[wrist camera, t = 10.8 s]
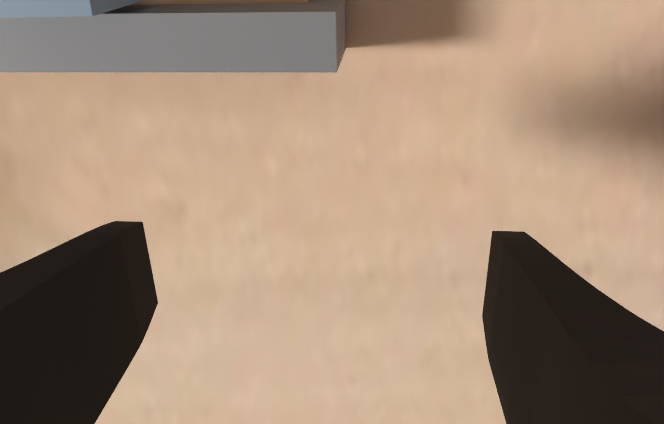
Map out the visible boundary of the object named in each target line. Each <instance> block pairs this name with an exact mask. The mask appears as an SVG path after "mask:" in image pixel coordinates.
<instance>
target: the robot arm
mask: <svg viewBox="0 0 664 424" xmlns="http://www.w3.org/2000/svg"><path fill="white" fill-rule="evenodd" d="M157 304H158V301H157V296H156V290H155V285H154V280H153V274H152V269H151V264H150V259H149V253H148V248H147V243H146V238H145V232H144V227H143V222H124V221H114V222H111V223H108V224H105V225H103V226H100V227H98V228H95V229H93V230H91V231H88V232H86V233H84V234H82V235H80V236H78V237H76V238H74V239H71V240H69V241H67V242H65V243H63V244H61V245H59V246H57V247H55V248H53V249H51V250H49V251H47V252H45V253H42V254H40V255H38V256H36V257H34V258H32V259H30V260H28V261H26V262H23V263H21V264H19V265H17V266H15V267H12V268H10V269H8V270H6V271H3V272H1V273H0V424H95V422H96V420H97V419H98V417H99V415H100V414H101V412H102V410H103V408H104V407H105V405H106V403H107V402H108V400H109V398H110V397H111V395H112V393H113V392H114V390H115V388H116V387H117V385H118V383H119V381H120V380H121V378H122V376H123V375H124V373H125V371H126V370H127V368H128V366H129V364H130V363H131V361H132V359H133V357H134V356H135V354H136V352H137V350H138V349H139V347H140V345H141V343H142V341H143V339H144V337H145V334H146V332H147V329H148V327H149V325H150V322H151V319H152V317H153V314H154V311H155V309H156V306H157ZM482 316H483V324H484V332H485V339H486V346H487V353H488V359H489V363H490V366H491V370H492V374H493V377H494V381H495V384H496V388H497V392H498V395H499V399H500V402H501V406H502V409H503V413H504V416H505V420H506V423H507V424H664V331H662V330H660V329H658V328H657V327H655V326H653V325H651V324H650V323H648V322H646V321H644V320H643V319H641V318H640V317H638V316H636V315H635V314H633V313H632V312H630V311H628V310H627V309H625V308H624V307H622V306H621V305H620V304H618V303H617V302H615V301H614V300H612V299H611V298H609V297H608V296H606V295H605V294H603V293H602V292H601V291H599V290H598V289H597V288H595V287H594V286H592V285H591V284H590V283H588V282H587V281H586V280H584V279H583V278H582V277H580V276H579V275H578V274H577V273H575V272H574V271H573V270H571V269H570V268H569V267H568V266H566V265H565V264H564V263H563V262H561V261H560V260H559V259H558V258H557V257H555V256H554V255H553V254H552V253H550V252H549V251H548V250H547V249H546V248H544V247H543V246H542V245H541V244H539V243H538V242H537V241H536V240H535V239H533V238H532V237H531V236H529V235H528V234H526V233H525V232H512V231H492V238H491V247H490V255H489V264H488V272H487V281H486V289H485V298H484V306H483V314H482Z"/></svg>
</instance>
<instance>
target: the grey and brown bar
mask: <svg viewBox="0 0 664 424" xmlns="http://www.w3.org/2000/svg"><path fill="white" fill-rule="evenodd" d="M345 49H346V11H345V0H144V1H140V2H137V3H134V4H131V5H127V6H124V7H121V8H118V9H114V10H111V11H108V12H105V13H102V14H98V15H95V16H79V17H25V18H0V72H337V70H338V68H339V65H340V62H341V60H342V57H343V54H344V52H345Z"/></svg>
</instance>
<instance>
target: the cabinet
mask: <svg viewBox="0 0 664 424" xmlns="http://www.w3.org/2000/svg"><path fill="white" fill-rule="evenodd" d="M140 1H144V0H0V18H25V17H79V16H95V15H98V14H102V13H105V12H108V11H111V10H114V9H118V8H121V7H124V6H127V5H131V4H134V3H137V2H140Z"/></svg>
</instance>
